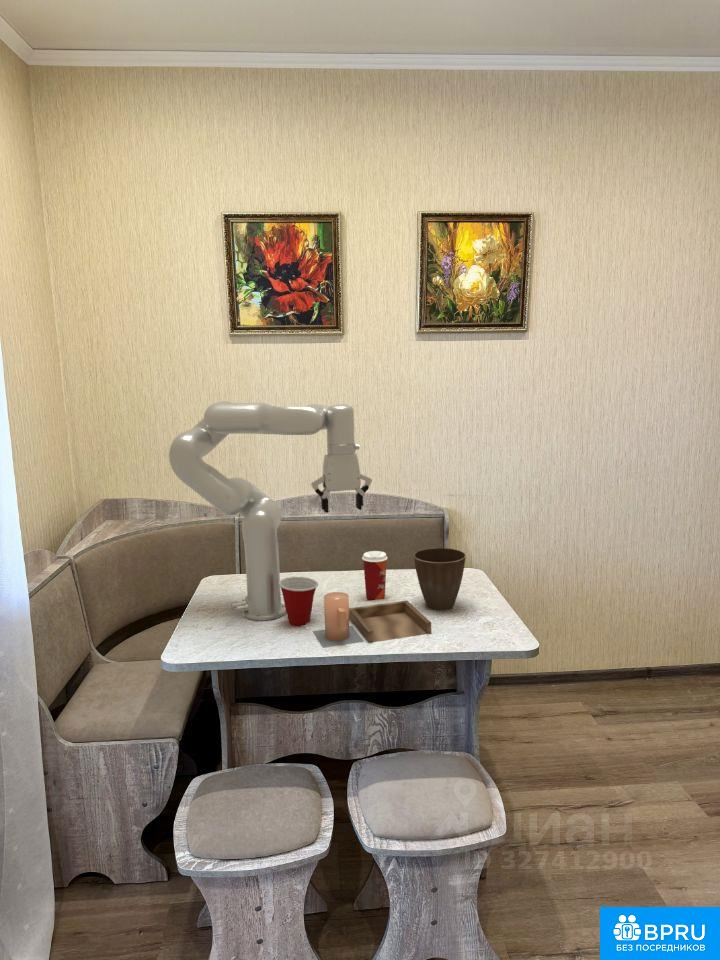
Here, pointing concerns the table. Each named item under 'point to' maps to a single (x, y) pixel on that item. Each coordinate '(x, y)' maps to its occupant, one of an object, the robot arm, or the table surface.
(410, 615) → the brown tray
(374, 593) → the paper cup
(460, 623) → the table surface
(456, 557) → the plant pot
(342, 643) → the coaster
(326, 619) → the tan tapered cylinder
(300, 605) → the plastic cup
